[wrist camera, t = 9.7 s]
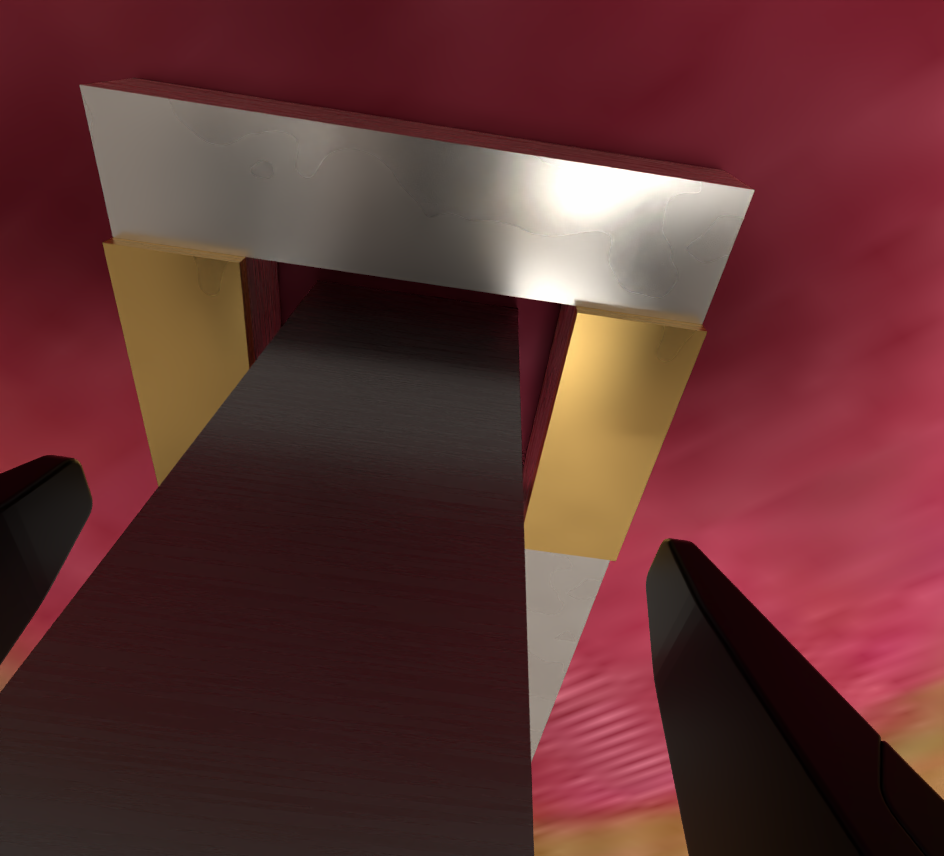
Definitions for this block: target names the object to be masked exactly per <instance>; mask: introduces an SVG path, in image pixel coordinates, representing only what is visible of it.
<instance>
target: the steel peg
mask: <svg viewBox="0 0 944 856" xmlns="http://www.w3.org/2000/svg"><path fill="white" fill-rule="evenodd" d="M0 856H534V841H533V808H532V775H531V741H530V708H529V674H528V641H527V607H526V574H525V540H524V507H523V474H522V440H521V407H520V373H519V340H518V308H511V307H504V306H497V305H489V304H482V303H475V302H468V301H461V300H454V299H447V298H439V297H432V296H425V295H418V294H411V293H404V292H397V291H390V290H382V289H375V288H368V287H361V286H354V285H347V284H340V283H333V282H325V281H318V280H317V282H316V283H315V284H314V286H313V287H312V288H311V289H310V291H309V292H308V293H307V295H306V296H305V297H304V299H303V300H302V301H301V302H300V304H299V305H298V306H297V308H296V309H295V310H294V312H293V313H292V314H291V315H290V317H289V318H288V319H287V321H286V322H285V323H284V325H283V326H282V327H281V328H280V330H279V331H278V332H277V334H276V335H275V336H274V338H273V339H272V340H271V341H270V343H269V344H268V345H267V347H266V348H265V349H264V351H263V352H262V353H261V354H260V356H259V357H258V358H257V360H256V361H255V362H254V364H253V365H252V366H251V367H250V369H249V370H248V371H247V373H246V374H245V375H244V377H243V378H242V379H241V380H240V382H239V383H238V384H237V386H236V387H235V388H234V390H233V391H232V392H231V393H230V395H229V396H228V397H227V399H226V400H225V401H224V403H223V404H222V405H221V406H220V408H219V409H218V410H217V412H216V413H215V414H214V416H213V417H212V418H211V419H210V421H209V422H208V423H207V425H206V426H205V427H204V429H203V430H202V431H201V432H200V434H199V435H198V436H197V438H196V439H195V440H194V442H193V443H192V444H191V445H190V447H189V448H188V449H187V451H186V452H185V453H184V454H183V456H182V457H181V458H180V460H179V461H178V462H177V464H176V465H175V466H174V467H173V469H172V470H171V471H170V473H169V474H168V475H167V477H166V478H165V479H164V480H163V482H162V483H161V484H160V486H159V487H158V488H157V490H156V491H155V492H154V493H153V495H152V496H151V497H150V499H149V500H148V501H147V503H146V504H145V505H144V506H143V508H142V509H141V510H140V512H139V513H138V514H137V516H136V517H135V518H134V519H133V521H132V522H131V523H130V525H129V526H128V527H127V529H126V530H125V531H124V532H123V534H122V535H121V536H120V538H119V539H118V540H117V542H116V543H115V544H114V545H113V547H112V548H111V549H110V551H109V552H108V553H107V555H106V556H105V557H104V558H103V560H102V561H101V562H100V564H99V565H98V566H97V568H96V569H95V570H94V571H93V573H92V574H91V575H90V577H89V578H88V579H87V581H86V582H85V583H84V584H83V586H82V587H81V588H80V590H79V591H78V592H77V594H76V595H75V596H74V597H73V599H72V600H71V601H70V603H69V604H68V605H67V607H66V608H65V609H64V610H63V612H62V613H61V614H60V616H59V617H58V618H57V620H56V621H55V622H54V623H53V625H52V626H51V627H50V629H49V630H48V631H47V632H46V634H45V635H44V636H43V638H42V639H41V640H40V642H39V643H38V644H37V645H36V647H35V648H34V649H33V651H32V652H31V653H30V655H29V656H28V657H27V658H26V660H25V661H24V662H23V664H22V665H21V666H20V668H19V669H18V670H17V671H16V673H15V674H14V675H13V677H12V678H11V679H10V681H9V682H8V683H7V684H6V686H5V687H4V688H3V690H2V691H1V692H0Z"/></svg>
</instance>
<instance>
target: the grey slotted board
mask: <svg viewBox="0 0 944 856" xmlns="http://www.w3.org/2000/svg"><path fill="white" fill-rule="evenodd" d="M80 89H81V94H82V98H83V103H84V108H85V112H86V117H87V121H88V126H89V130H90V135H91V140H92V144H93V149H94V153H95V158H96V162H97V167H98V172H99V176H100V181H101V185H102V190H103V194H104V199H105V204H106V208H107V213H108V217H109V222H110V226H111V231H112V236H113V237H112V238H110V239H109V240H107V241H105V242H103V248H104V252H105V256H106V261H107V265H108V269H109V274H110V278H111V282H112V287H113V291H114V295H115V300H116V304H117V308H118V313H119V317H120V321H121V326H122V330H123V334H124V339H125V343H126V347H127V352H128V356H129V360H130V365H131V369H132V373H133V378H134V382H135V386H136V391H137V395H138V400H139V404H140V408H141V413H142V417H143V421H144V426H145V430H146V434H147V439H148V443H149V447H150V452H151V456H152V460H153V465H154V469H155V473H156V478H157V482H158V486H160V484H161V483H162V482H163V480H164V479H165V478H166V477H167V475H168V474H169V473H170V471H171V470H172V469H173V467H174V466H175V465H176V464H177V462H178V461H179V460H180V458H181V457H182V456H183V454H184V453H185V452H186V451H187V449H188V448H189V447H190V445H191V444H192V443H193V442H194V440H195V439H196V438H197V436H198V435H199V434H200V432H201V431H202V430H203V429H204V427H205V426H206V425H207V423H208V422H209V421H210V419H211V418H212V417H213V416H214V414H215V413H216V412H217V410H218V409H219V408H220V406H221V405H222V404H223V403H224V401H225V400H226V399H227V397H228V396H229V395H230V393H231V392H232V391H233V390H234V388H235V387H236V386H237V384H238V383H239V382H240V380H241V379H242V378H243V377H244V375H245V374H246V373H247V371H248V370H249V369H250V367H251V366H252V365H253V364H254V362H255V361H256V360H257V358H258V357H259V356H260V354H261V353H262V352H263V351H264V349H265V348H266V347H267V345H268V344H269V343H270V341H271V340H272V339H273V338H274V336H275V335H276V334H277V332H278V331H279V330H280V328H281V312H280V295H279V279H278V262H284V263H290V264H297V265H304V266H311V267H317V268H324V269H331V270H338V271H344V272H351V273H358V274H365V275H371V276H378V277H385V278H392V279H399V280H405V281H412V282H419V283H426V284H432V285H439V286H446V287H453V288H459V289H466V290H473V291H480V292H486V293H493V294H500V295H507V296H514V297H520V298H527V299H534V300H541V301H547V302H554V303H561V309H560V313H559V317H558V321H557V326H556V330H555V334H554V338H553V343H552V347H551V351H550V355H549V360H548V364H547V368H546V372H545V377H544V381H543V385H542V389H541V394H540V398H539V402H538V406H537V411H536V415H535V419H534V423H533V428H532V432H531V436H530V440H529V445H528V449H527V453H526V457H525V462H524V466H523V470H522V474H523V507H524V540H525V574H526V607H527V641H528V674H529V708H530V741H531V761H532V759H533V756H534V754H535V751H536V748H537V746H538V743H539V741H540V738H541V736H542V733H543V731H544V728H545V725H546V723H547V720H548V718H549V715H550V713H551V710H552V707H553V705H554V702H555V700H556V697H557V695H558V692H559V690H560V687H561V684H562V682H563V679H564V677H565V674H566V672H567V669H568V667H569V664H570V661H571V659H572V656H573V654H574V651H575V649H576V646H577V644H578V641H579V638H580V636H581V633H582V631H583V628H584V626H585V623H586V621H587V618H588V615H589V613H590V610H591V608H592V605H593V603H594V600H595V597H596V595H597V592H598V590H599V587H600V585H601V582H602V580H603V577H604V574H605V572H606V569H607V567H608V564H609V562H610V560H612V561H616V559H617V556H618V554H619V551H620V549H621V546H622V544H623V541H624V539H625V536H626V534H627V531H628V529H629V526H630V524H631V521H632V519H633V516H634V514H635V511H636V509H637V506H638V504H639V501H640V499H641V496H642V494H643V491H644V489H645V486H646V484H647V481H648V479H649V476H650V474H651V471H652V469H653V466H654V464H655V461H656V459H657V456H658V454H659V451H660V449H661V446H662V444H663V441H664V439H665V436H666V434H667V431H668V429H669V426H670V424H671V421H672V419H673V416H674V414H675V411H676V409H677V406H678V404H679V401H680V399H681V396H682V394H683V391H684V389H685V386H686V384H687V381H688V379H689V376H690V374H691V371H692V369H693V366H694V364H695V361H696V359H697V356H698V354H699V351H700V349H701V346H702V344H703V341H704V339H705V336H706V334H707V331H706V329H705V328H704V326H703V325H702V324H703V321H704V319H705V316H706V313H707V311H708V308H709V306H710V303H711V301H712V298H713V296H714V293H715V290H716V288H717V285H718V283H719V280H720V278H721V275H722V273H723V270H724V267H725V265H726V262H727V260H728V257H729V255H730V252H731V250H732V247H733V244H734V242H735V239H736V237H737V234H738V232H739V229H740V226H741V224H742V221H743V219H744V216H745V214H746V211H747V209H748V206H749V203H750V201H751V198H752V196H753V193H754V191H755V190H754V189H752V188H751V187H749V186H748V185H746V184H745V183H743V182H742V181H740V180H738V179H737V178H735V177H734V176H732V175H731V174H729V173H728V172H726V171H724V170H719V169H713V168H706V167H700V166H694V165H687V164H681V163H675V162H668V161H662V160H655V159H649V158H643V157H636V156H630V155H623V154H617V153H611V152H604V151H598V150H592V149H585V148H579V147H572V146H566V145H560V144H553V143H547V142H541V141H534V140H528V139H521V138H515V137H509V136H502V135H496V134H490V133H483V132H477V131H470V130H464V129H458V128H451V127H445V126H439V125H432V124H426V123H419V122H413V121H407V120H400V119H394V118H388V117H381V116H375V115H368V114H362V113H356V112H349V111H343V110H337V109H330V108H324V107H317V106H311V105H305V104H298V103H292V102H286V101H279V100H273V99H266V98H260V97H254V96H247V95H241V94H235V93H228V92H222V91H215V90H209V89H203V88H196V87H190V86H184V85H177V84H171V83H164V82H158V81H152V80H145V79H139V78H130V79H122V80H113V81H105V82H97V83H89V84H81V85H80Z"/></svg>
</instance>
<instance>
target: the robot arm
mask: <svg viewBox="0 0 944 856" xmlns="http://www.w3.org/2000/svg"><path fill="white" fill-rule="evenodd" d="M91 509H92V496H91V493H90V490H89V487H88V483H87V480H86V477H85V474H84V471H83V468H82V465H81V463H80V462H79V461H78V460H77V459H74V458H70V457H63V456H55V455H46V456H43V457H40V458H38V459H35V460H33V461H30V462H28V463H25V464H23V465H20V466H18V467H16V468H13V469H11V470H8V471H6V472H3V473H1V474H0V665H1V663H2V662H3V660H4V659H5V657H6V656H7V654H8V653H9V651H10V650H11V648H12V647H13V645H14V644H15V643H16V641H17V640H18V638H19V637H20V635H21V634H22V632H23V631H24V629H25V628H26V626H27V625H28V623H29V622H30V620H31V619H32V617H33V616H34V614H35V613H36V611H37V610H38V608H39V607H40V605H41V603H42V602H43V600H44V598H45V597H46V595H47V593H48V592H49V590H50V588H51V586H52V584H53V583H54V581H55V579H56V577H57V575H58V573H59V571H60V569H61V568H62V566H63V564H64V562H65V560H66V558H67V556H68V554H69V553H70V551H71V549H72V547H73V545H74V543H75V541H76V540H77V538H78V536H79V534H80V532H81V530H82V528H83V526H84V525H85V523H86V521H87V519H88V517H89V515H90V513H91ZM646 593H647V605H648V617H649V629H650V641H651V652H652V664H653V673H654V681H655V687H656V693H657V698H658V703H659V708H660V713H661V718H662V723H663V728H664V733H665V738H666V743H667V748H668V753H669V759H670V764H671V769H672V774H673V779H674V784H675V789H676V794H677V799H678V804H679V809H680V814H681V819H682V824H683V829H684V834H685V839H686V844H687V849H688V854H689V856H944V800H943V799H942V798H941V797H940V796H939V795H938V794H937V793H936V792H935V791H934V790H933V789H932V788H931V787H930V786H929V785H928V784H927V783H926V782H925V781H924V780H923V779H922V778H921V777H920V776H919V775H918V774H917V773H916V772H915V771H914V770H913V769H912V768H911V767H910V766H909V765H908V763H907V762H906V761H905V760H904V759H903V758H902V757H901V756H900V755H899V754H898V753H897V752H896V751H895V750H894V749H893V748H892V747H891V746H890V745H889V744H888V743H887V742H886V741H881V737H880V735H879V734H878V733H877V732H876V731H875V730H874V729H873V728H872V727H871V726H870V725H869V724H868V722H867V721H866V720H865V719H864V718H863V717H862V716H861V715H860V714H859V713H858V712H857V711H856V710H855V709H854V708H853V707H852V706H851V705H850V704H849V703H848V702H847V701H846V700H845V699H844V698H843V697H842V696H841V695H840V694H839V693H838V692H837V691H836V689H835V688H834V687H833V686H832V685H831V684H830V683H829V682H828V681H827V680H826V679H825V678H824V677H823V676H822V675H821V674H820V673H819V672H818V671H817V670H816V669H815V668H814V667H813V666H812V665H811V664H810V663H809V662H808V661H807V660H806V659H805V657H804V656H803V655H802V654H801V653H800V652H799V651H798V650H797V649H796V648H795V647H794V646H793V645H792V644H791V643H790V642H789V641H788V640H787V639H786V638H785V637H784V636H783V635H782V634H781V633H780V632H779V631H778V630H777V629H776V628H775V627H774V626H773V624H772V623H771V622H770V621H769V620H768V619H767V618H766V617H765V616H764V615H763V614H762V613H761V612H760V611H759V610H758V609H757V608H756V607H755V606H754V605H753V604H752V603H751V602H750V601H749V600H748V599H747V598H746V597H745V596H744V595H743V594H742V592H741V591H740V590H739V589H738V588H737V587H736V586H735V585H734V584H733V583H732V582H731V581H730V580H729V579H728V578H727V577H726V576H725V575H724V574H723V573H722V572H721V571H720V570H719V569H718V568H717V567H716V566H715V565H714V564H713V563H712V562H711V561H710V559H709V558H708V557H707V556H706V555H705V554H704V553H703V552H702V551H701V550H700V549H699V548H698V547H697V546H696V545H695V544H694V543H692V542H690V541H685V540H678V539H671V538H669V539H665V540H664V541H663V542H662V543H661V545H660V547H659V549H658V552H657V554H656V556H655V558H654V561H653V563H652V565H651V567H650V569H649V572H648V575H647V580H646Z"/></svg>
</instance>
